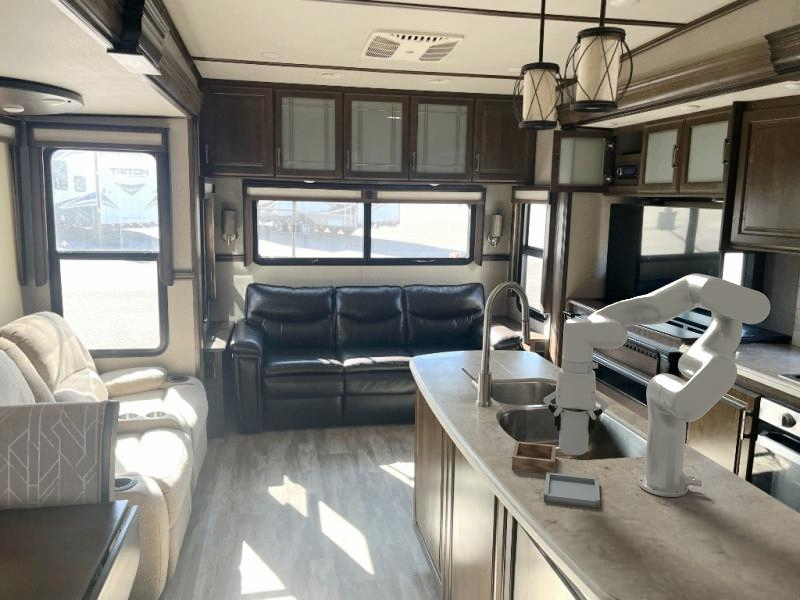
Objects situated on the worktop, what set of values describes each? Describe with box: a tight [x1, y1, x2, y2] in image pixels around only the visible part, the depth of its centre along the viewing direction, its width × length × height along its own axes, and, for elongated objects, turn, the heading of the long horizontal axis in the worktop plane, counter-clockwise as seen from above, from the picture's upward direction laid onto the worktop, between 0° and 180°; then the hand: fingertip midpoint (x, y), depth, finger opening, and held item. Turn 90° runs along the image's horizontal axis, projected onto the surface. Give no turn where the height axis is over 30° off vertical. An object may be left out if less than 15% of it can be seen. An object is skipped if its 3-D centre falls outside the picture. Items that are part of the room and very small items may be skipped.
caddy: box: [511, 441, 557, 475], centre depth 185 cm, size 12×12×4 cm
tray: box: [543, 472, 601, 509], centre depth 167 cm, size 14×14×2 cm
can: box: [558, 408, 590, 456], centre depth 164 cm, size 8×8×12 cm
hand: (574, 430), depth 164 cm, fingers closed on can, 7 cm apart
